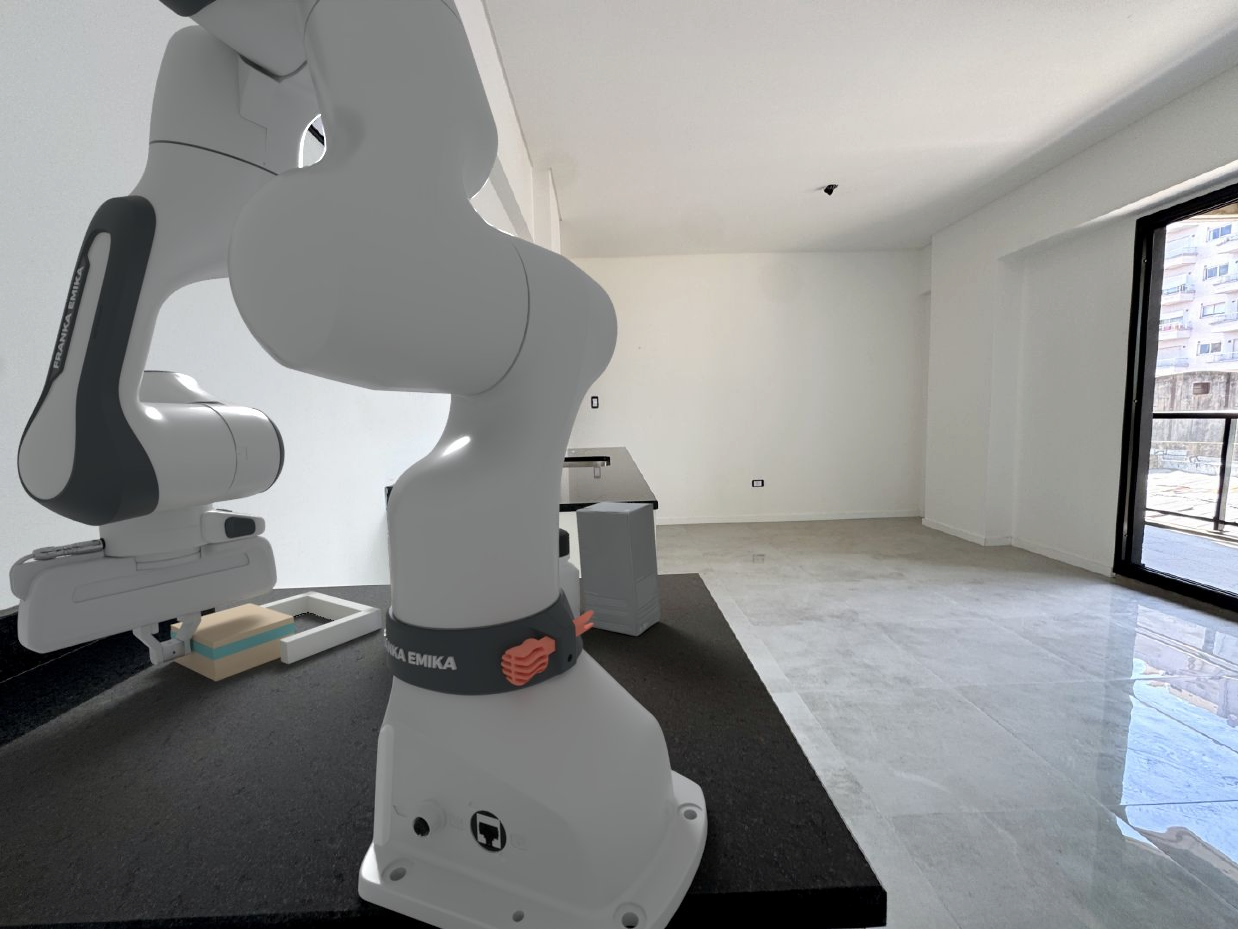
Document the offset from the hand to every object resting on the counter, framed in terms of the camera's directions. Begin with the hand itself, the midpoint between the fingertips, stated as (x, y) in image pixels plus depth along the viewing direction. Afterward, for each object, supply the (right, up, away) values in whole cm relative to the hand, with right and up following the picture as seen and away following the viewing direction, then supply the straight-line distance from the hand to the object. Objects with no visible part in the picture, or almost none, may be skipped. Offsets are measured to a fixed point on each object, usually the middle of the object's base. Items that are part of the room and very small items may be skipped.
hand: (171, 658), depth 54 cm
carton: (+3, -2, +5) cm, 6 cm away
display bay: (+6, -1, +11) cm, 13 cm away
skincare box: (+48, 0, +12) cm, 49 cm away
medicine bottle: (+38, 0, +16) cm, 41 cm away
